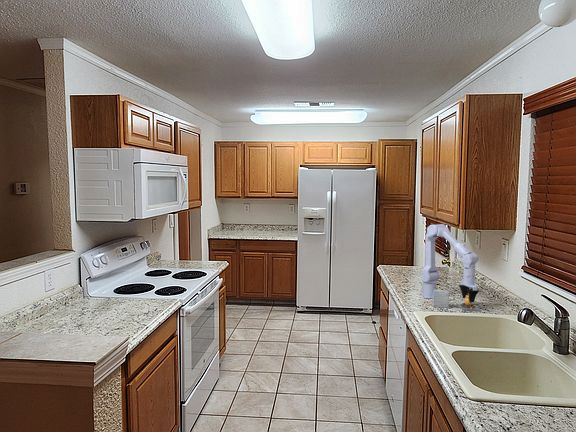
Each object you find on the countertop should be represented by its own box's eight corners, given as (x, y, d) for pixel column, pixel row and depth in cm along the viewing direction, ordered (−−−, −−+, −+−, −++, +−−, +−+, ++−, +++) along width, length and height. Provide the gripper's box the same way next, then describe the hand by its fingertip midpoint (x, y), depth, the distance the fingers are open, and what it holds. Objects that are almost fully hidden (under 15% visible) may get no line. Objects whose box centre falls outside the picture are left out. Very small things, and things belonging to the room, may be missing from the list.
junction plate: (455, 305, 216) (456, 301, 216) (472, 305, 216) (472, 302, 216) (463, 310, 206) (463, 307, 206) (480, 311, 205) (480, 307, 205)
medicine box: (447, 305, 215) (448, 290, 214) (448, 308, 210) (449, 292, 210) (432, 304, 217) (432, 289, 216) (433, 307, 212) (433, 291, 212)
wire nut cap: (463, 305, 213) (464, 294, 212) (470, 305, 212) (470, 294, 212) (465, 307, 209) (466, 296, 209) (472, 307, 209) (472, 296, 208)
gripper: (455, 272, 217) (454, 296, 218) (468, 278, 202) (467, 304, 203) (468, 272, 217) (467, 296, 218) (481, 278, 202) (480, 304, 203)
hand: (468, 300), depth 211 cm, fingers open, 7 cm apart
